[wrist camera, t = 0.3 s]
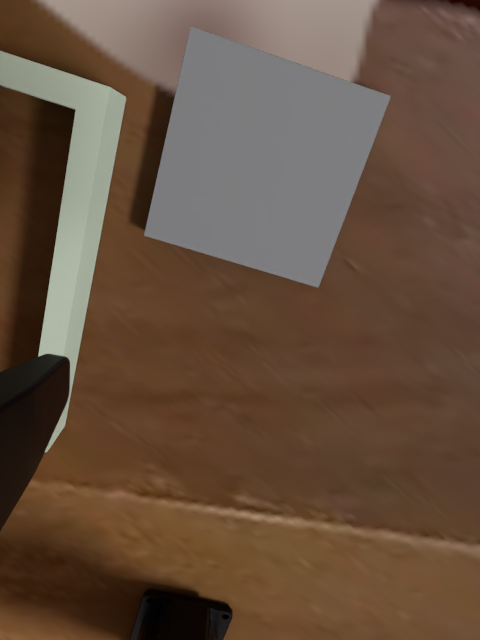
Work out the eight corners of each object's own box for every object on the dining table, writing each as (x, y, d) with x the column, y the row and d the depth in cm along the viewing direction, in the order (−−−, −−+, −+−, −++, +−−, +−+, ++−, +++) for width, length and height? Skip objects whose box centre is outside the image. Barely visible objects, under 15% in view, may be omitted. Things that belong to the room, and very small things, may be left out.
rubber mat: (315, 282, 22) (318, 287, 21) (148, 232, 21) (144, 235, 20) (383, 99, 19) (390, 96, 18) (193, 33, 18) (190, 25, 17)
